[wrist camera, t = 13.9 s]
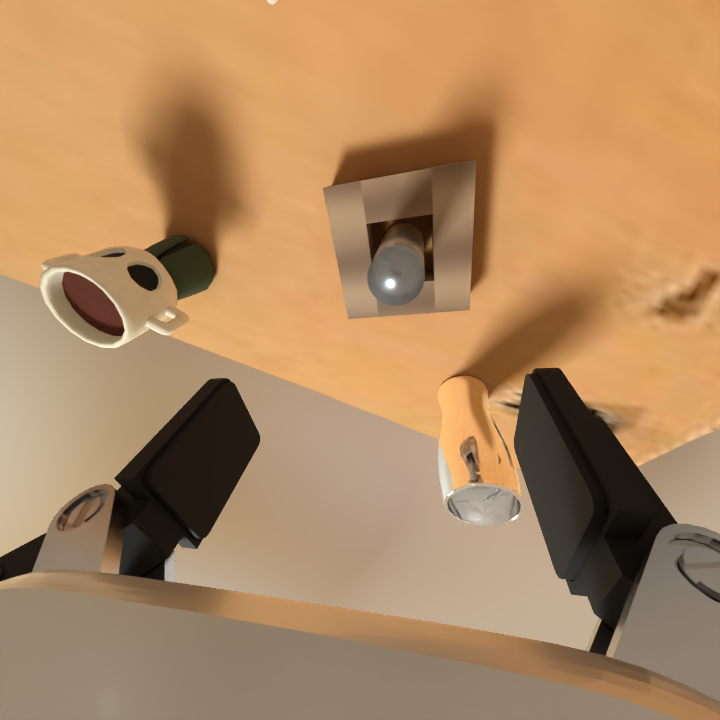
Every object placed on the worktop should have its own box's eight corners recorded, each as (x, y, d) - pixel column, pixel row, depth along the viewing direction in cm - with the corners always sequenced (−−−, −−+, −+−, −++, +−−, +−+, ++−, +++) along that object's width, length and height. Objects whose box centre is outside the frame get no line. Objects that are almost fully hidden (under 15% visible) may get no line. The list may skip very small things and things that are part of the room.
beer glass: (503, 389, 36) (548, 507, 24) (466, 421, 40) (486, 537, 28) (457, 362, 35) (478, 471, 23) (423, 398, 39) (425, 507, 27)
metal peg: (379, 226, 28) (363, 253, 20) (422, 219, 27) (423, 245, 19) (384, 267, 30) (371, 307, 22) (424, 263, 29) (425, 303, 21)
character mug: (243, 263, 32) (157, 313, 22) (227, 312, 36) (147, 374, 26) (147, 205, 31) (3, 228, 20) (141, 262, 34) (18, 308, 24)
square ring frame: (331, 185, 27) (322, 187, 24) (470, 160, 24) (476, 159, 22) (353, 307, 33) (348, 318, 31) (465, 298, 30) (469, 309, 28)
